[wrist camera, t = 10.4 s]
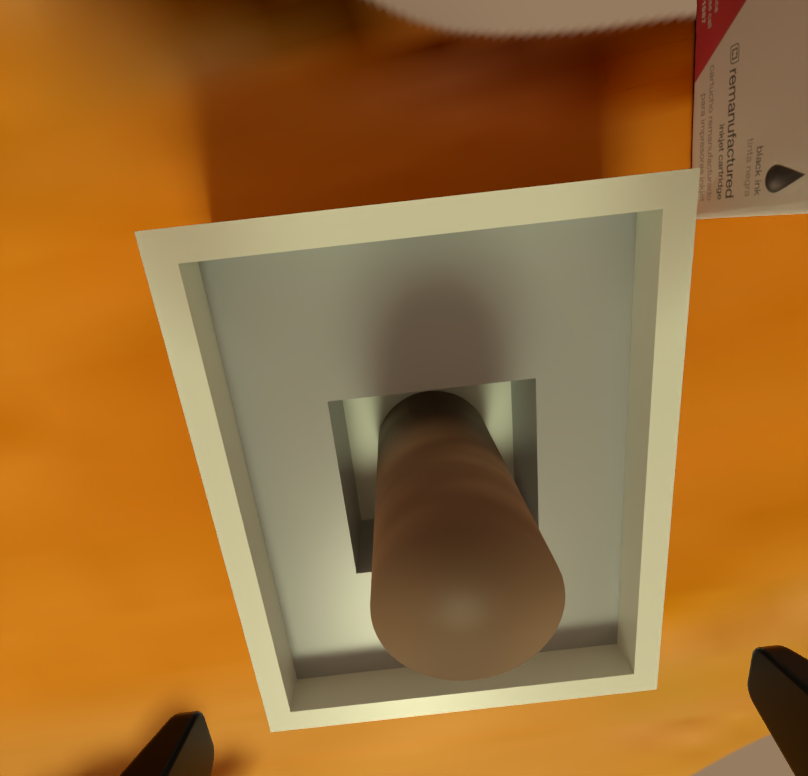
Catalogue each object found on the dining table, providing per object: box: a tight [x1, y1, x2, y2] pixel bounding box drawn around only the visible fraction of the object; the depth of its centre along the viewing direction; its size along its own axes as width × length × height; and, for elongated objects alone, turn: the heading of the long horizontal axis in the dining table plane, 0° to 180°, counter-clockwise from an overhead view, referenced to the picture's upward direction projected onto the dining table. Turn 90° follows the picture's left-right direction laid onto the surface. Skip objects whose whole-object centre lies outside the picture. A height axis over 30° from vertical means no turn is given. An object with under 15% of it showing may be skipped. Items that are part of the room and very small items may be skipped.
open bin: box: [135, 168, 700, 732], centre depth 15 cm, size 13×16×5 cm
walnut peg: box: [370, 391, 565, 681], centre depth 13 cm, size 4×4×8 cm
